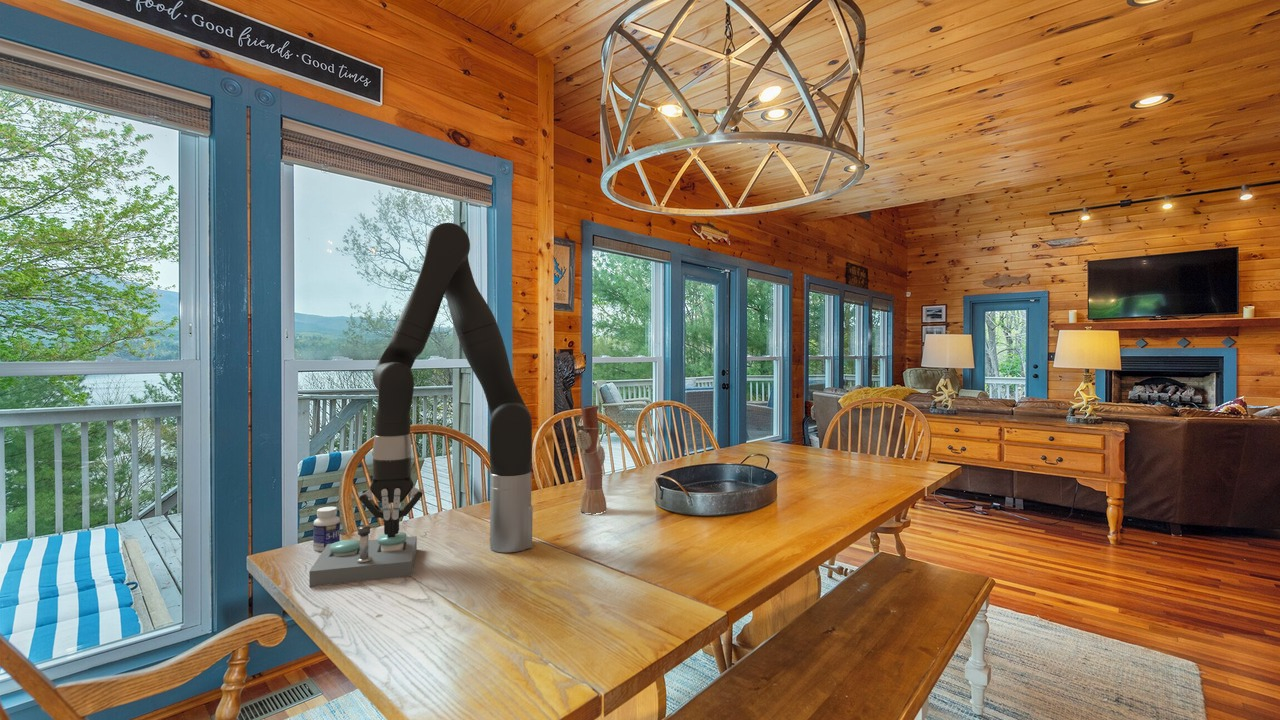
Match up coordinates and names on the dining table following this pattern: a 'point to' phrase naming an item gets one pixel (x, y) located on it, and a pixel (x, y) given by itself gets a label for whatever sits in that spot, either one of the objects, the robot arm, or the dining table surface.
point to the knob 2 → (392, 542)
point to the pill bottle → (326, 528)
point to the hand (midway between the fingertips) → (391, 535)
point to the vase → (591, 461)
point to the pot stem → (364, 544)
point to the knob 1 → (345, 547)
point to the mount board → (363, 565)
